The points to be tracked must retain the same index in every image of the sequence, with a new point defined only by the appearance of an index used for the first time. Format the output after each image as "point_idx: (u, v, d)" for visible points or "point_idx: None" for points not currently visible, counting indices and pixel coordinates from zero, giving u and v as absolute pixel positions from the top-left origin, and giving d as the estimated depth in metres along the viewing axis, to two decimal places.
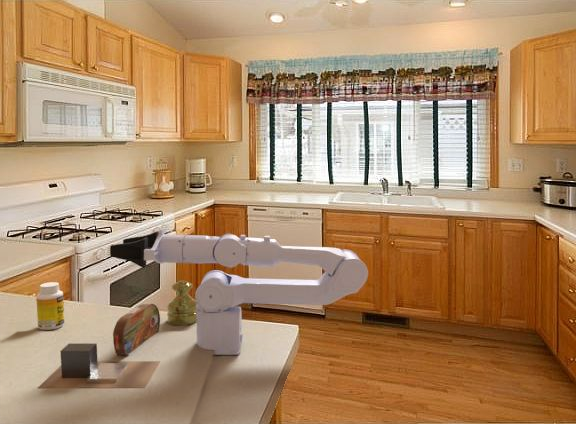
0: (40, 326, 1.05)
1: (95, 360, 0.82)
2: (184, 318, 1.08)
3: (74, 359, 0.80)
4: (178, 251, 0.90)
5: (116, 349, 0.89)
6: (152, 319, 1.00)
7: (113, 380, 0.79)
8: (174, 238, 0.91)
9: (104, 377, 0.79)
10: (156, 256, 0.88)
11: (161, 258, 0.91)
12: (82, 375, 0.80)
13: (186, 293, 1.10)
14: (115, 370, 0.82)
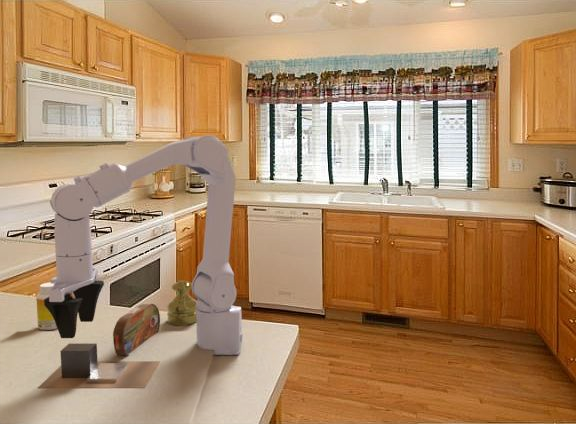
0: (40, 326, 1.05)
1: (95, 360, 0.82)
2: (184, 318, 1.08)
3: (74, 359, 0.80)
4: (67, 260, 0.76)
5: (116, 349, 0.89)
6: (152, 319, 1.00)
7: (113, 380, 0.79)
8: (56, 265, 0.77)
9: (104, 377, 0.79)
10: (67, 286, 0.75)
11: (78, 280, 0.77)
12: (82, 375, 0.80)
13: (186, 293, 1.10)
14: (115, 370, 0.82)
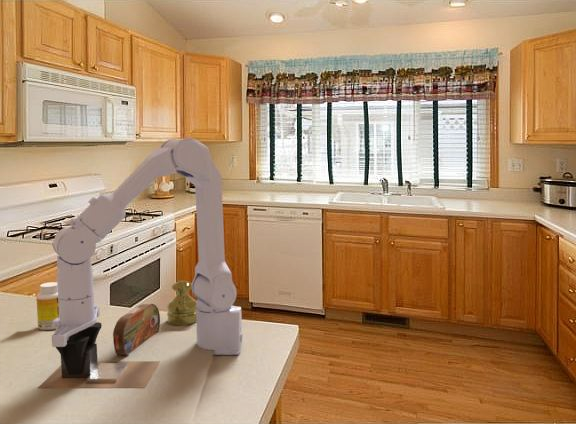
0: (40, 326, 1.05)
1: (95, 360, 0.82)
2: (184, 318, 1.08)
3: None
4: (69, 304, 0.77)
5: (116, 349, 0.89)
6: (152, 319, 1.00)
7: (113, 380, 0.79)
8: None
9: (104, 377, 0.79)
10: (69, 330, 0.76)
11: (80, 323, 0.78)
12: (82, 375, 0.80)
13: (186, 293, 1.10)
14: (115, 370, 0.82)
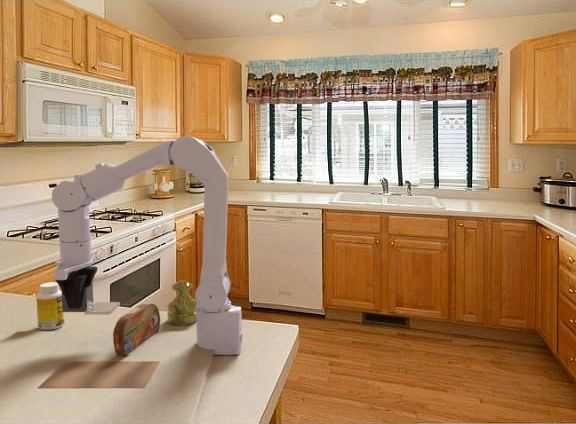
0: (40, 326, 1.05)
1: (91, 298, 0.95)
2: (184, 318, 1.08)
3: None
4: (69, 246, 0.90)
5: (116, 349, 0.89)
6: (152, 319, 1.00)
7: (107, 313, 0.91)
8: (60, 250, 0.91)
9: (99, 310, 0.91)
10: (69, 267, 0.88)
11: (79, 262, 0.90)
12: (80, 309, 0.92)
13: (186, 293, 1.10)
14: (108, 306, 0.94)
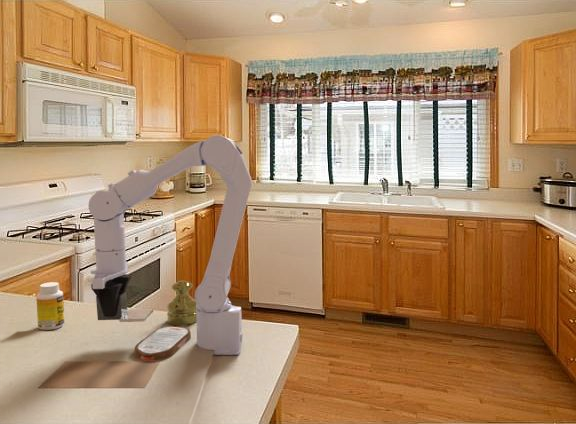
0: (40, 326, 1.05)
1: (125, 305, 0.95)
2: (184, 318, 1.08)
3: None
4: (105, 254, 0.90)
5: (140, 355, 0.88)
6: None
7: (141, 320, 0.92)
8: (96, 258, 0.92)
9: (134, 318, 0.92)
10: (106, 276, 0.89)
11: (114, 271, 0.91)
12: (115, 317, 0.93)
13: (186, 293, 1.10)
14: (142, 313, 0.95)
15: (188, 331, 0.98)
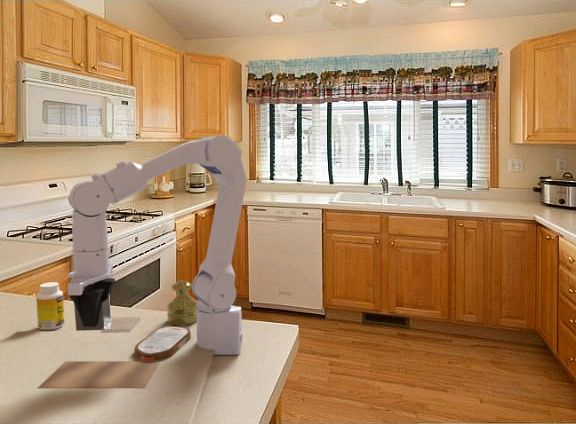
0: (40, 326, 1.05)
1: (108, 313, 0.84)
2: (184, 318, 1.08)
3: None
4: (84, 255, 0.79)
5: (140, 355, 0.88)
6: None
7: (126, 330, 0.80)
8: (74, 260, 0.80)
9: (117, 328, 0.80)
10: (84, 280, 0.77)
11: (95, 274, 0.79)
12: (96, 327, 0.81)
13: (186, 293, 1.10)
14: (128, 322, 0.83)
15: (188, 331, 0.98)
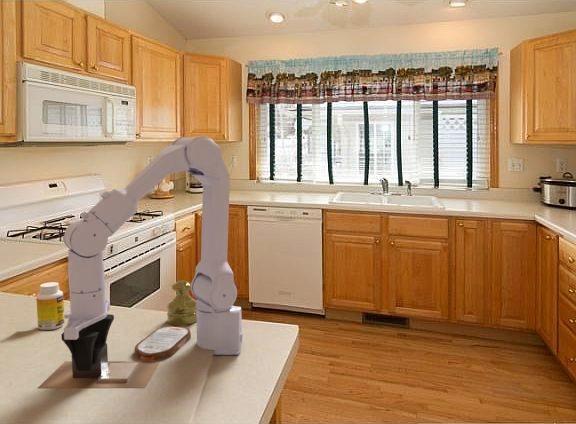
0: (40, 326, 1.05)
1: (106, 360, 0.82)
2: (184, 318, 1.08)
3: None
4: (80, 297, 0.77)
5: (140, 355, 0.88)
6: None
7: (124, 380, 0.79)
8: (70, 301, 0.78)
9: (115, 377, 0.79)
10: (81, 323, 0.76)
11: (92, 316, 0.78)
12: (93, 375, 0.80)
13: (186, 293, 1.10)
14: (126, 370, 0.82)
15: (188, 331, 0.98)
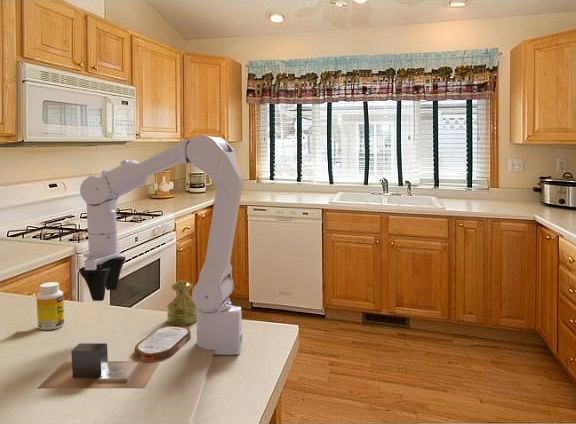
0: (40, 326, 1.05)
1: (106, 360, 0.82)
2: (184, 318, 1.08)
3: (85, 359, 0.80)
4: (97, 238, 0.94)
5: (140, 355, 0.88)
6: None
7: (124, 380, 0.79)
8: (88, 242, 0.95)
9: (115, 377, 0.79)
10: (98, 258, 0.93)
11: (106, 254, 0.95)
12: (93, 375, 0.80)
13: (186, 293, 1.10)
14: (126, 370, 0.82)
15: (188, 331, 0.98)
